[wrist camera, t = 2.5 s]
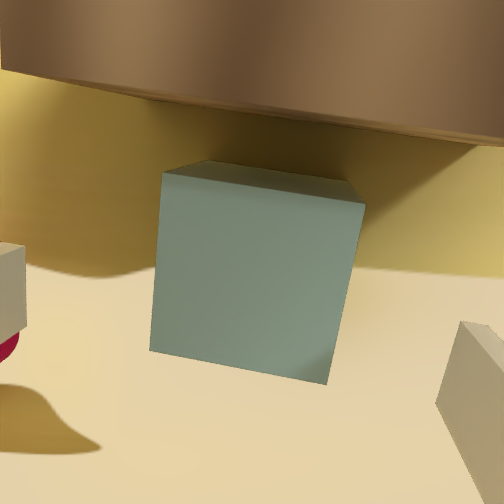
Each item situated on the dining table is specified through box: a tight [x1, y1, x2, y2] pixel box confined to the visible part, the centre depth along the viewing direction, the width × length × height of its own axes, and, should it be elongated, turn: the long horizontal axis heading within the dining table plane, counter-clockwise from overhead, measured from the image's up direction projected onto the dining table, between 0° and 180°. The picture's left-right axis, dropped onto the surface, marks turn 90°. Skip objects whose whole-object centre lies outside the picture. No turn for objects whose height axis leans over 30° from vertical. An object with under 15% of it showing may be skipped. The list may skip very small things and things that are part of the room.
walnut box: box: [0, 0, 504, 147], centre depth 14 cm, size 16×6×10 cm, turn 82°
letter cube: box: [149, 160, 366, 385], centre depth 18 cm, size 7×7×7 cm
